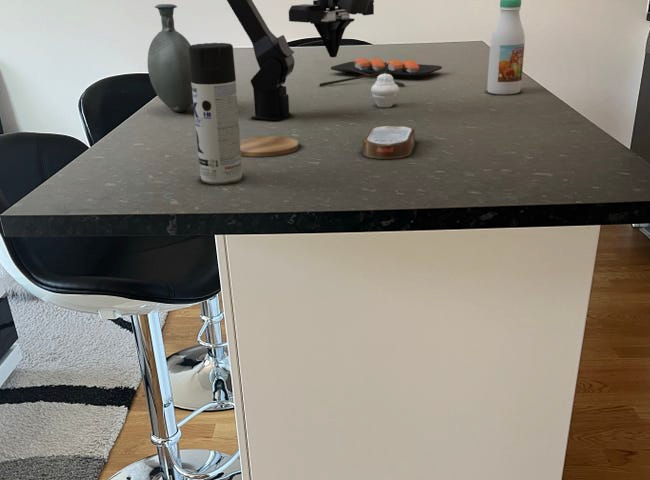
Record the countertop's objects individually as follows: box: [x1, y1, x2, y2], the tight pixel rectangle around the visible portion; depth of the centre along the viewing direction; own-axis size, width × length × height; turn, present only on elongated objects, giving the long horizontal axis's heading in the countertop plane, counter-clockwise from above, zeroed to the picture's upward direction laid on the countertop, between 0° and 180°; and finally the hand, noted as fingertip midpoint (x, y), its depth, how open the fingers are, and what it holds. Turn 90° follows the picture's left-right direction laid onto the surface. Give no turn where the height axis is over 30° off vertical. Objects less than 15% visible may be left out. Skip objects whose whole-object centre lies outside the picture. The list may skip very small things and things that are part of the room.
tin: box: [362, 125, 416, 160], centre depth 137 cm, size 15×3×8 cm
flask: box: [147, 3, 194, 113], centre depth 168 cm, size 12×17×22 cm
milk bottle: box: [486, 0, 526, 95], centre depth 177 cm, size 8×8×20 cm
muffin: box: [370, 73, 400, 108], centre depth 170 cm, size 6×6×7 cm
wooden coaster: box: [240, 136, 299, 158], centre depth 140 cm, size 12×12×1 cm
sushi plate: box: [319, 57, 443, 87], centre depth 203 cm, size 29×30×4 cm
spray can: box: [189, 42, 243, 185], centre depth 118 cm, size 7×7×20 cm
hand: (333, 57), depth 156 cm, fingers closed
